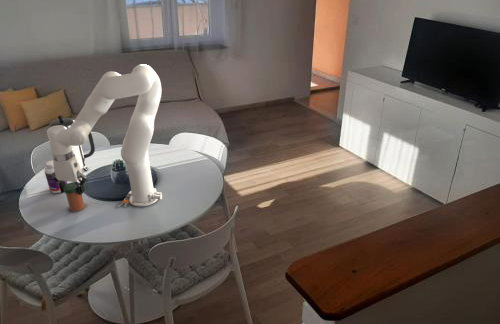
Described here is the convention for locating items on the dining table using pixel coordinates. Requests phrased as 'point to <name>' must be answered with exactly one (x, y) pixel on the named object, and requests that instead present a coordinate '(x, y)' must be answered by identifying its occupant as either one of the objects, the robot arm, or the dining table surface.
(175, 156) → the dining table surface
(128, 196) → the key chain
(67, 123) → the coffee press
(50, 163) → the pill bottle
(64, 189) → the lid
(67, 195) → the jar
